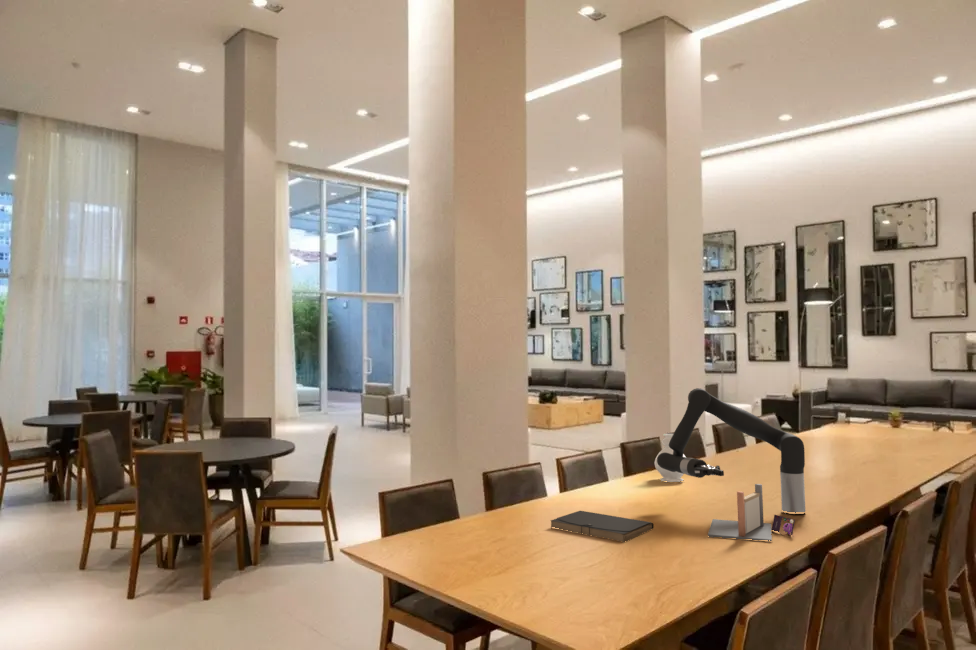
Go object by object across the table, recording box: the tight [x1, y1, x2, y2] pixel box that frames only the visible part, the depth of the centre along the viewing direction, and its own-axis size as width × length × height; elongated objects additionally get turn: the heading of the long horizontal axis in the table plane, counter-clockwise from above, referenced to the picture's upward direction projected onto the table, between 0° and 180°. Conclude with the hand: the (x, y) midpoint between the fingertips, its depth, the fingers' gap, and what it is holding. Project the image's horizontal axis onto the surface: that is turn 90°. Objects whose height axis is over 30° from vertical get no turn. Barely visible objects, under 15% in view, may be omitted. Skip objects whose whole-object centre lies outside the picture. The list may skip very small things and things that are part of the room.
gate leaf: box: [744, 491, 760, 533], centre depth 247 cm, size 14×2×13 cm, turn 137°
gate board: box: [707, 483, 773, 542], centre depth 250 cm, size 24×22×17 cm
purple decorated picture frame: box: [771, 514, 796, 536], centre depth 245 cm, size 7×5×9 cm
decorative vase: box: [654, 433, 687, 483], centre depth 352 cm, size 18×18×25 cm
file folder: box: [550, 510, 655, 543], centre depth 258 cm, size 33×4×24 cm
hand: (722, 473), depth 258 cm, fingers closed
